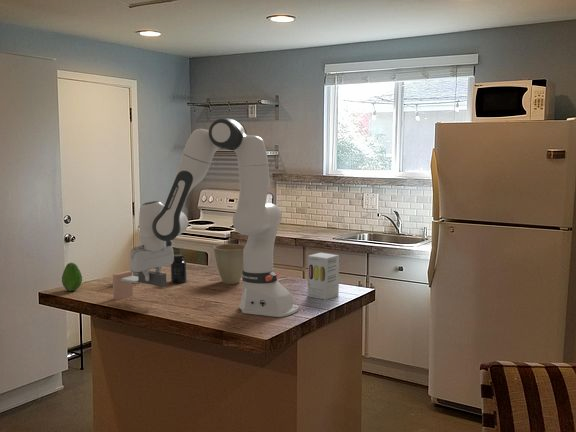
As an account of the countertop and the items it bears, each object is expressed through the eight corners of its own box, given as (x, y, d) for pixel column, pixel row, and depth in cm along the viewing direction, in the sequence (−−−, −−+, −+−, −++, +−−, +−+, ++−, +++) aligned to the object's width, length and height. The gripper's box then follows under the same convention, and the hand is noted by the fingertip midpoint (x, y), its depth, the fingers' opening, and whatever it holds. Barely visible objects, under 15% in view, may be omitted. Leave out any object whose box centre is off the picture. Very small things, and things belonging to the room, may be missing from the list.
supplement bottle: (189, 281, 264) (189, 254, 263) (179, 284, 258) (178, 257, 257) (178, 279, 268) (177, 253, 266) (167, 282, 262) (167, 255, 261)
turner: (169, 284, 226) (169, 272, 225) (158, 287, 221) (157, 275, 220) (132, 277, 237) (132, 266, 236) (120, 280, 232) (120, 269, 231)
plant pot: (208, 284, 258) (208, 248, 256) (222, 277, 272) (222, 243, 270) (240, 287, 253) (239, 250, 251) (253, 279, 267) (252, 244, 265)
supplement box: (306, 296, 238) (307, 255, 236) (319, 292, 245) (320, 251, 243) (326, 300, 232) (327, 258, 230) (339, 295, 239) (339, 254, 237)
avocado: (66, 294, 241) (65, 265, 240) (59, 290, 247) (58, 262, 246) (85, 290, 247) (84, 262, 245) (78, 287, 253) (77, 259, 251)
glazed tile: (132, 295, 239) (131, 271, 238) (117, 299, 233) (116, 274, 231) (128, 294, 240) (127, 270, 239) (113, 299, 234) (112, 274, 233)
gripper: (136, 248, 214) (137, 286, 216) (176, 241, 231) (176, 275, 233) (124, 246, 218) (125, 283, 219) (164, 239, 235) (165, 273, 236)
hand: (152, 279), depth 226 cm, fingers closed on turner, 3 cm apart
